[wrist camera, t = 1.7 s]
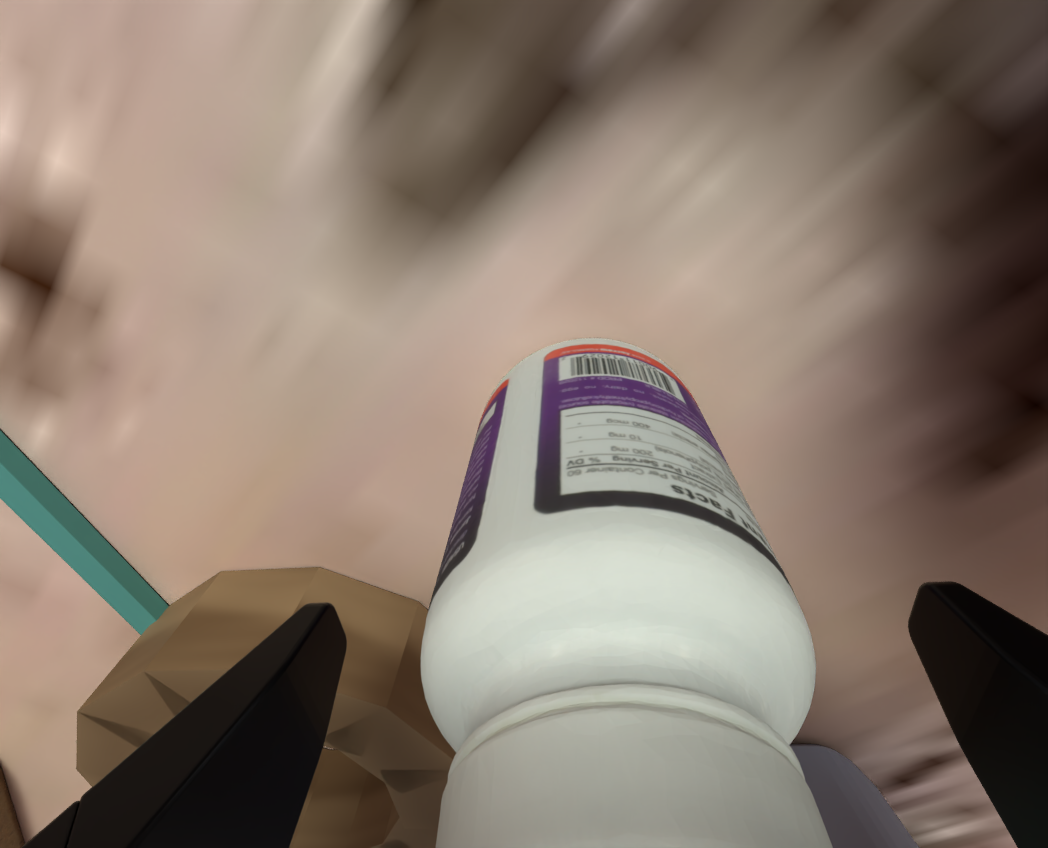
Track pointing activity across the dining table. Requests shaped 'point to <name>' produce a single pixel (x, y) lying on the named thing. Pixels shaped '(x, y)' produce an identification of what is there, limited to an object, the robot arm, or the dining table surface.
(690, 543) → the pill bottle
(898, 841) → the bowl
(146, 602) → the teal stick
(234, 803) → the robot arm
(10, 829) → the candle holder
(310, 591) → the brown faceted ring
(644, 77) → the dining table surface
